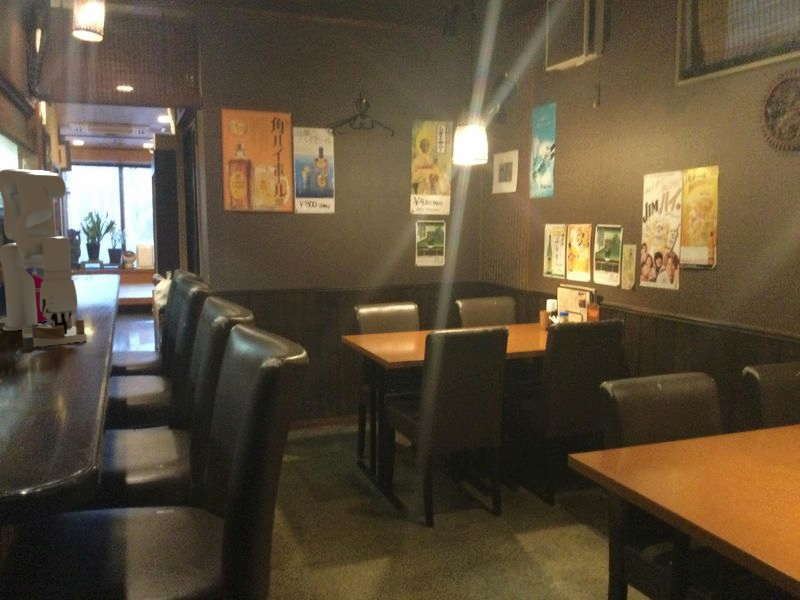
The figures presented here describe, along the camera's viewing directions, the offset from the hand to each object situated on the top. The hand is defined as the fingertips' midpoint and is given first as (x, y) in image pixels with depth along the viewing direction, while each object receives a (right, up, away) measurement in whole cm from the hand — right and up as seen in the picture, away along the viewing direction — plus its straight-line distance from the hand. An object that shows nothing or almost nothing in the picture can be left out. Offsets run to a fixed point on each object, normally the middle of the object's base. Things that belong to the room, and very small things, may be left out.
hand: (61, 334), depth 202 cm
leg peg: (-14, -1, +23) cm, 27 cm away
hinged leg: (-2, -1, -3) cm, 3 cm away
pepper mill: (-37, +2, +53) cm, 65 cm away
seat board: (-7, -3, +7) cm, 10 cm away
